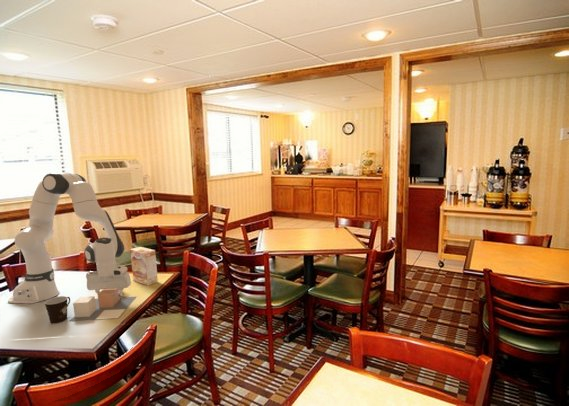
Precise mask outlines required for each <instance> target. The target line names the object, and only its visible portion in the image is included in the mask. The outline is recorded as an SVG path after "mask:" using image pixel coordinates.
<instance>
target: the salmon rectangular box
mask: <svg viewBox="0 0 569 406" xmlns="http://www.w3.org/2000/svg"><path fill="white" fill-rule="evenodd" d="M118 293H119V288H115V289H101V290H100V293H99V294H97V299H98V303H99V308H107V307H114V305H115V304H116V303H117V302H118V301H119V300H120V297H121V296H118Z"/></svg>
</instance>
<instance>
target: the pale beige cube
mask: <svg viewBox="0 0 569 406" xmlns="http://www.w3.org/2000/svg"><path fill="white" fill-rule="evenodd" d="M95 299H96V298H95V296H80V297H79V298H78V299H76V300H75V301H74V302H73V303H72V305H73V315H74V316H75V317H90V316H91V315H92V314H93V313H94V312H95V311H96V305H95Z"/></svg>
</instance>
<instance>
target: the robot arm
mask: <svg viewBox="0 0 569 406" xmlns="http://www.w3.org/2000/svg"><path fill="white" fill-rule="evenodd" d="M62 195H68V196H70V200H71V203H72V208H73V210H74V213H75V215H76V216H77V217H78V218H80V219H81V220H85V221H89V222H95V223H98V224H100V225H101V226H102V227H103V229H104V232H105V234H106V236H107V237H99V238H97V239H96V240H95V241H94V242H93V243H89V244H87V246H86V247H85V249H84V257H85V260H86V261H88V262H89V263H96V270H95V271H94V270H93V271H91V270H90V271H88V272H86V275H85V278H86V288H87V290H88V291H94V292H95V293H96V294H97V295H98V294H99V293H100V292H101V290H103V289H115V288H119V290H121V291H120V292H119V293H118V296H120V297H122V296H123V291H124V289H126V288H129V287H130V286H131V283H132V281H131V276H130V273H129V272H128V267H127V266H124V265H121V264H117V261H116V258H120V257H121V256H122V255H123V254H124V252H125V245H124V243H123V241H122V240H121V238H120V236H119V233H118V231H117V229H116V228H115V225H114V223H113V220H112V218H111V217H110V214H109V213H108V211H106V210H105V209H103V208H102V207H101V205H99V201H98V199H97V195H96V193H95V190H94V188H93V186H92V184H91V183H90V182H88V181H87V180H86V178H85V177H83V176H82V175H80V174H77V173H71V172H49V173H47V174H46V175H44V177H43V179H42V181H40V182H39V184H38V185H37V187H36V189H35V191H34V193H33V196H32V199H31V203H30V207H29V211H28V215H29V224H28V226H27V227H26V228H24V229H22V230H20V231H19V232H18V233H17V234H16V236H15V237H14V244H15V246H16V247H17V248H18V249H19V250H20V251H21V254H22V255H23V258H24V261H25V267H26V268H25V269H26V273H24V274H23V275H22V276H21V278H22V279H23V281H22V282H20V283H19V284H18V285H16V286H15V288H14V289H13V291H12V296H11V297H9V298H8V299H7V303H8V304H36V303H38V302H41V301H47V300H49V299H51V298H54V297H57V296H58V295H59V294H60V292H59V291H60V290H59V289H58V287H57V284H56V280H55V270H54V268H53V265H52V264H53V262H52V258H51V257H52V256H51V253H49V252H48V250H47V247H46V245H45V244H46V242H48V241H49V240H51V238H52V237H53V235H54V229H53V227H54V219H55V215H56V210H57V208H58V204H59V199H60V197H61V196H62Z"/></svg>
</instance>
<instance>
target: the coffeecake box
mask: <svg viewBox="0 0 569 406" xmlns="http://www.w3.org/2000/svg"><path fill="white" fill-rule="evenodd" d="M129 252H130V259H131V261H130V263H131V271H132V273H131V274H132V281H133V282H137V283H140V284H142V285H145V286H150V285H153V284H155V283H158V281H159V279H158V268H157V256H156V249H151V248H147V247H143V246H138V247H134V248H130V251H129Z"/></svg>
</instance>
